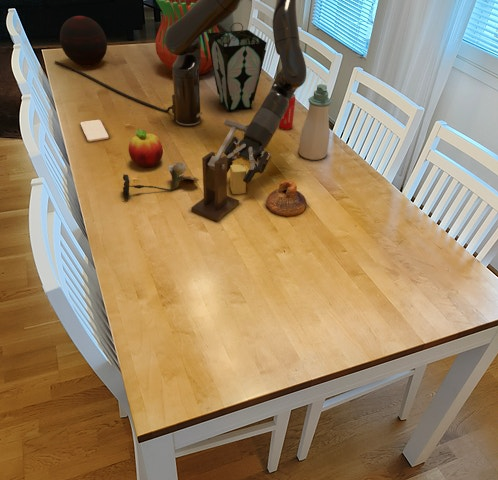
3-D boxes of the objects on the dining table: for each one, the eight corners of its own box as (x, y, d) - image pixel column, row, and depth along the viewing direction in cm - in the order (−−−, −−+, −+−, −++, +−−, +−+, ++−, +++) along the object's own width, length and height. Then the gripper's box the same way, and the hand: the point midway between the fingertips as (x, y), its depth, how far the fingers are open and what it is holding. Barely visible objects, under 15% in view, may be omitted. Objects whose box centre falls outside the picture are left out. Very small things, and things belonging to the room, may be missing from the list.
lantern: (224, 116, 176) (223, 30, 156) (208, 100, 187) (206, 18, 167) (262, 111, 182) (267, 27, 161) (246, 95, 193) (248, 15, 172)
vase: (188, 55, 227) (184, -16, 206) (236, 69, 215) (237, -5, 194) (144, 71, 209) (135, -5, 188) (194, 88, 197) (190, 8, 176)
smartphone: (87, 140, 157) (79, 122, 166) (88, 142, 157) (80, 124, 167) (109, 136, 159) (99, 119, 169) (109, 138, 160) (100, 121, 169)
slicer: (214, 194, 137) (213, 144, 126) (239, 204, 133) (240, 154, 122) (191, 211, 130) (188, 160, 119) (217, 222, 126) (216, 170, 115)
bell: (312, 213, 131) (315, 191, 126) (272, 219, 128) (274, 197, 123) (297, 192, 139) (300, 170, 134) (260, 197, 136) (261, 175, 131)
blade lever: (228, 123, 126) (225, 117, 123) (248, 129, 123) (245, 124, 121) (204, 166, 124) (200, 161, 122) (223, 173, 122) (220, 169, 119)
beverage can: (291, 130, 170) (294, 98, 161) (277, 129, 170) (280, 96, 162) (293, 125, 173) (296, 93, 165) (279, 123, 174) (282, 91, 166)
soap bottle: (302, 161, 153) (310, 92, 137) (295, 148, 160) (302, 80, 144) (330, 160, 154) (341, 91, 139) (322, 146, 161) (332, 80, 146)
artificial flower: (121, 192, 138) (119, 158, 133) (194, 190, 145) (194, 158, 140) (123, 200, 130) (121, 164, 126) (200, 198, 137) (201, 164, 133)
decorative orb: (97, 55, 223) (88, 8, 209) (118, 66, 212) (111, 18, 199) (58, 63, 213) (46, 14, 199) (78, 75, 202) (68, 25, 188)
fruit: (136, 174, 143) (131, 144, 136) (126, 158, 150) (121, 129, 143) (168, 167, 147) (166, 137, 140) (157, 152, 154) (154, 123, 147)
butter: (232, 194, 137) (232, 172, 132) (230, 187, 140) (230, 165, 134) (245, 193, 138) (246, 170, 132) (242, 186, 140) (243, 164, 135)
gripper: (238, 113, 133) (211, 163, 134) (276, 129, 126) (246, 181, 128) (250, 126, 139) (223, 172, 141) (286, 141, 133) (258, 190, 134)
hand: (234, 176), depth 134 cm, fingers open, 8 cm apart
